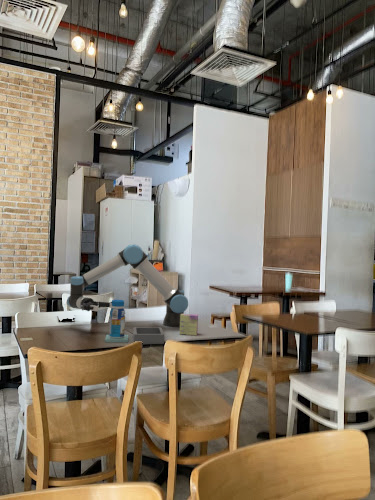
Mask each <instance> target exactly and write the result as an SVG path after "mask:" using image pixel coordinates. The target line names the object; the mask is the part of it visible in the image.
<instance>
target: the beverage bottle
mask: <svg viewBox="0 0 375 500" xmlns="http://www.w3.org/2000/svg"><path fill="white" fill-rule="evenodd" d="M111 302H112V307H113V308H110V311H109V314H110V315H109V334H108V335H109V337H111V338H123V337H124V335H125V330H126V329H125V325H126V316H125V314H126V311H125V308H124V306H125V300H124V299H113V300H111Z"/></svg>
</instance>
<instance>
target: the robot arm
mask: <svg viewBox="0 0 375 500" xmlns="http://www.w3.org/2000/svg"><path fill="white" fill-rule="evenodd" d="M128 265H130V266H131V268H133V270H138V271H139V272H140V273H141V274H142V275H143V276H144V278H145V279H146V280H147V281H148V282H149V283H150V284H151V286H153V288H155V290H157V292H158V293H159V294H160V295H161V296H162V297H163V302H164V303H165V304H166V309H165V310H166V311H165V316H164V317H163V321H162V322H163V323H162V324H163V326H166V327H176V328H177V327H179V328H180V315H181V314H185V311H186V310H187V309H188V307H189V299H188V298H187V297H186V296H185V291H184V290H179V289H178V287H173V285H172V284H170V282H169V281H168V280H167V279H166V277H164V276H163V275H162V274H161V273H160V272H159V270H158V269H157V268H156V267H155V266H154V265H153V263H151V262H150V260H149V256H148V255H147V254H146V253H145V251H144V250H143V249H142V248H141V246H139V245H138V244H135V243H133V244H129V245H127V246H126V247H125V248H124V249H122V250H121V251H119V252H117V255H116V256H114V257H112V258H110V259H109V260H107V261H105V262H103V263H101V264H100V265H98V266H96V267H94V268H92V269H90V270H89V271H87V272H86V273H84V274H82V275H79V276H78V275H77V276H75V275H74V276H71V277H70V281H69V282H70V293H69V294H70V295H69V296H68V297H67V299H66V305H68V307H70V308H72V309H78V310H81V311H87V312H90V311H93V312H99V309H100V308H109V309H112V308H113V307H112V301H110V302H109V301H108V302H107V301H95V300H94V299H93V298H92V297H87V296H84V288H87V287H88V286H89V285H91V284H93V283H95V282H97V281H99V280H100V279H102V278H104V277H105V276H107V275H110V273H112V272H115V271H116V270H118V269H120V268H121V267H123V266H125V267H126V266H128Z"/></svg>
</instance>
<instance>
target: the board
mask: <svg viewBox="0 0 375 500" xmlns="http://www.w3.org/2000/svg"><path fill="white" fill-rule="evenodd" d="M104 343H129V334H124V337H123V338H111V337H109V334H106V336H105V339H104Z"/></svg>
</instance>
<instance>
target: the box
mask: <svg viewBox="0 0 375 500" xmlns="http://www.w3.org/2000/svg"><path fill="white" fill-rule="evenodd" d="M198 326H199V314H195V313H194V314H193V313H184V314H181V315H180V326H179V335H182V334H186V336H198V329H199V328H198Z"/></svg>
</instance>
